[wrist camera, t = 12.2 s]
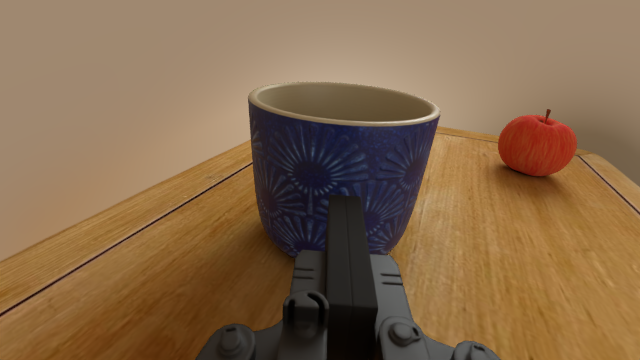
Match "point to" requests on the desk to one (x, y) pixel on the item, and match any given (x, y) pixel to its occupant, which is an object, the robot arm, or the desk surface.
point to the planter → (337, 158)
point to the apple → (537, 145)
